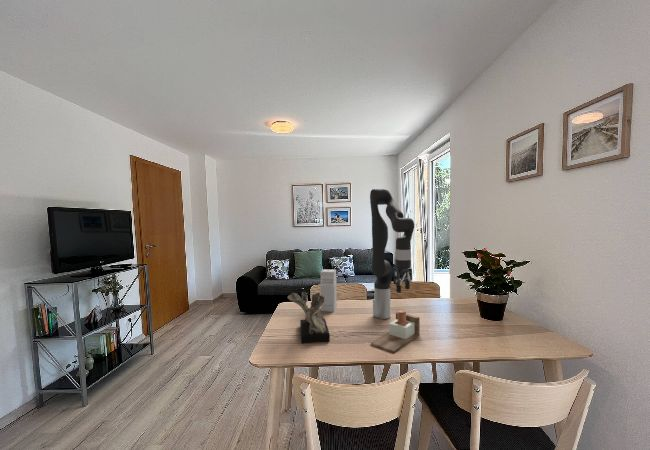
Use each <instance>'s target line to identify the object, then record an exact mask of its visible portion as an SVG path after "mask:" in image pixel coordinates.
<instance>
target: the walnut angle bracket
mask: <svg viewBox="0 0 650 450" xmlns="http://www.w3.org/2000/svg"><path fill="white" fill-rule="evenodd" d="M396 319H398V311H396V312H395V320H396ZM406 320H407V321H410V322H414V323H415V334H413V335H412V336H410V337H409V338H407V339H403V338H399V337H396V336H393V335H390V334H389V331H388V332H386V334H383V335H381V336H380V337H378V338H377V339H375V340H372V341H371V342H370V346H372V347H375V348H378V349H380V350H383V351H386V352H389V353H392V354H395V353H397V352H398V351H399V350H401V349H402V348H403V347H405V346H406V345H408V344H410V343H411V342H412V341H414V340H415V339H416V338H418V337H420V335H421V334H420V332H421V331H420V330H421V327H420V322H421V321H420V316H416V315H411V314H408V313H406Z"/></svg>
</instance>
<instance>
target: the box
mask: <svg viewBox="0 0 650 450" xmlns="http://www.w3.org/2000/svg"><path fill="white" fill-rule="evenodd" d="M319 273H320V296H321V295H322V296H323V297H325V299H324V303H323V304H322V305H321V307H320V310H321V312H331V313H333V312H335V311H336V310H337V308H338V303H337V301H338V300H337V269H332V268H331V269H322V270H320V272H319Z"/></svg>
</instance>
